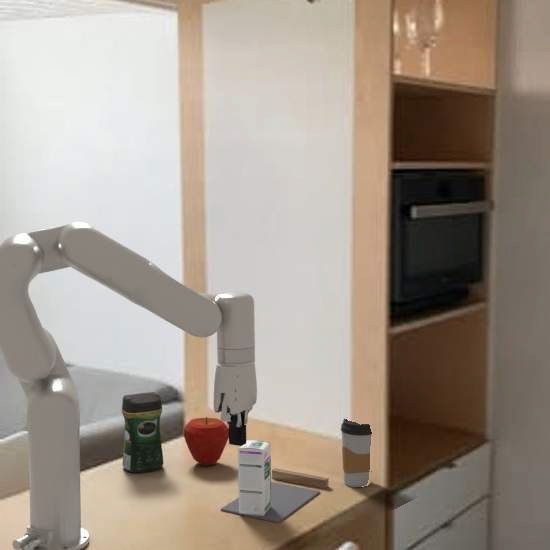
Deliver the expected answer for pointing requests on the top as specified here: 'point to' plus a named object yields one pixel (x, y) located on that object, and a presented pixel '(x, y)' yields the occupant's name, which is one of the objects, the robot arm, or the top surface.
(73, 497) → the robot arm
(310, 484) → the strip
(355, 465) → the coffee cup
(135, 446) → the coffee jar
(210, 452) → the apple
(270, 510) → the mat
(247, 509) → the syrup box
